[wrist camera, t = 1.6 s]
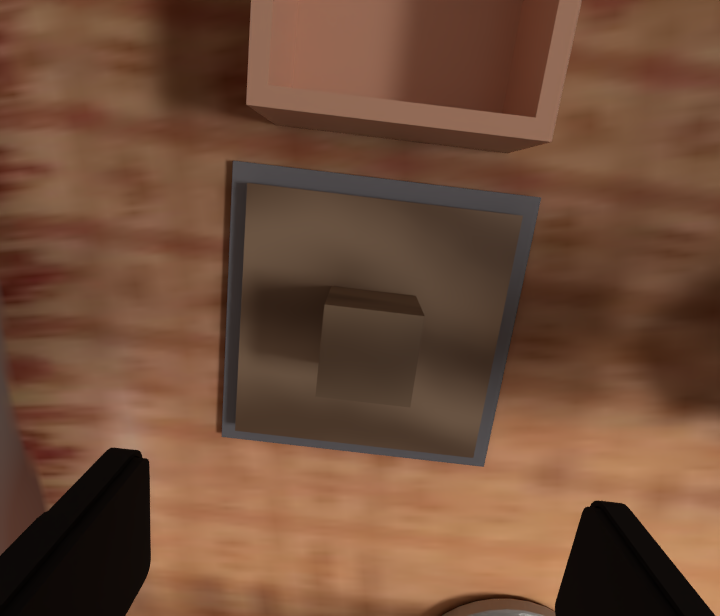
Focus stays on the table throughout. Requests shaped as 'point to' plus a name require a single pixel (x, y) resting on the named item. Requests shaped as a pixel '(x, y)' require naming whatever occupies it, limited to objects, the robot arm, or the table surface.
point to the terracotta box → (413, 68)
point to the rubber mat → (382, 190)
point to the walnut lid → (369, 318)
